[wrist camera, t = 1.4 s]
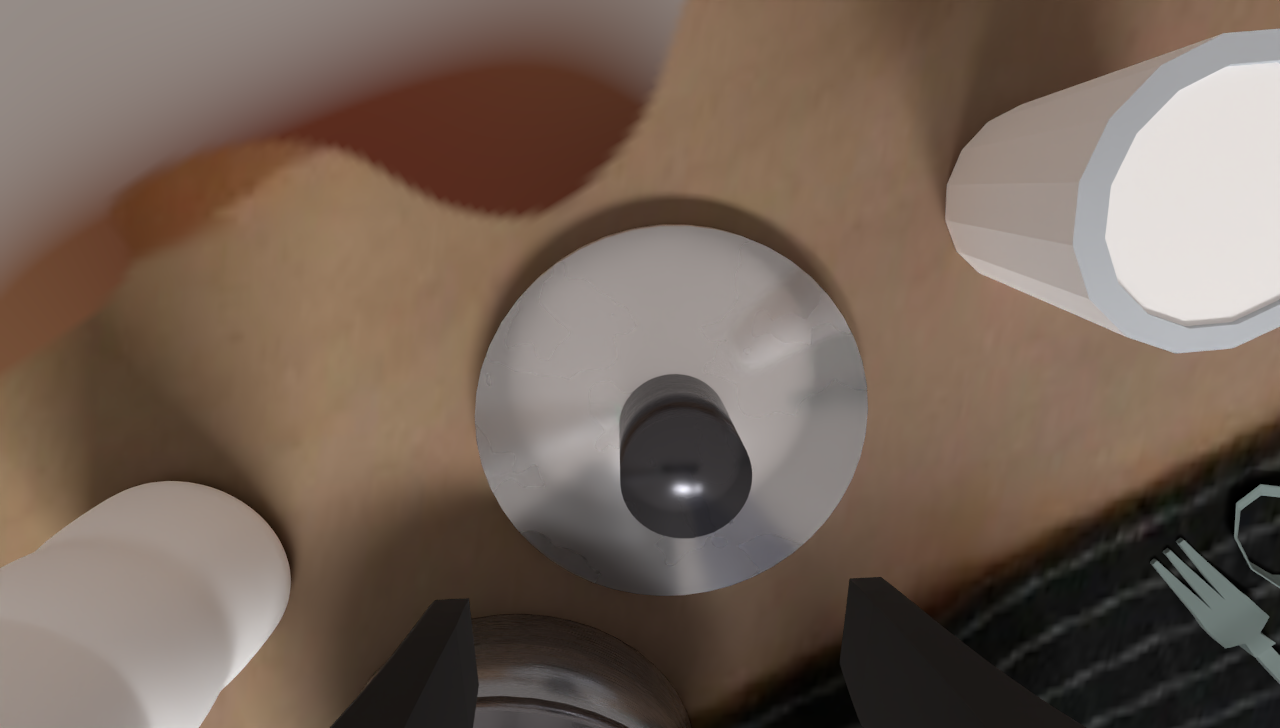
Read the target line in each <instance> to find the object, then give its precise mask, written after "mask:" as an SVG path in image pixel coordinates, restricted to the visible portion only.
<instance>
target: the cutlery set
mask: <svg viewBox="0 0 1280 728" xmlns="http://www.w3.org/2000/svg"><path fill="white" fill-rule="evenodd" d="M1261 495H1263V496H1273V497H1280V487H1279V486H1271V485H1263V484H1260V485H1259V486H1257V487H1256V488H1255V489H1254V490H1252V491H1251V492H1250V493H1248V494H1247V495H1246V496H1245V497H1243V498H1242V499H1241V500H1239V501H1238V502H1237V503H1236V513H1235V531H1234V538H1235V540H1236V542H1237V544H1238V546H1239V548H1240V550H1241V552H1242V554H1243V556H1244V558H1245V560H1246V562H1247V564H1248V566H1249V567H1250V569H1251V570H1253V571H1254V572H1256V573H1257V574H1259V575H1260V576H1262V577H1263V578H1265V579H1266V580H1268V581H1270V582H1271V583H1273V584H1274V585H1276V586H1277V587H1279V588H1280V575H1272V574H1270V573H1268V572H1266V571H1265V570H1263V569H1261V568H1260V567H1258V566H1256V565H1255V564H1253V563H1251V562H1250V561H1249V559H1248V557H1247V555H1246V553H1245V551H1244V549H1243V547H1242V545H1241V544H1240V542H1239V540H1238V538H1237V536H1238V528H1239V519H1240V510H1242V509H1243V508H1244V507H1246V506H1247V505H1248V504H1250V503H1251V502H1252V501H1254V500H1255V499H1257V498H1258V497H1259V496H1261ZM1176 542H1177V544H1178V545H1179V546H1180V547H1181V549H1182V550H1183V551H1184V552H1185V554H1186V555H1187V556H1188V557H1189V559H1190V560H1191V561H1192V562H1193V564H1194V565H1195V566H1196V567H1197V569H1198V570H1199V571H1200V573H1201V574H1202V575H1203V576H1204V578H1205V579H1206V580H1207V581H1208V583H1209V584H1210V585H1211V586H1212V588H1213V589H1212V588H1211V587H1210V586H1209V585H1208V584H1207V583H1206V582H1205V581H1203V580H1202V579H1201V578H1200V577H1199V576H1198V575H1197V574H1196V573H1194V572H1193V571H1192V570H1191V569H1190V568H1189V567H1188V566H1187V565H1186V564H1185V563H1184V562H1182V561H1181V560H1180V559H1179V558H1178V557H1177V556H1176V555H1175V554H1174V553H1173V552H1172V551H1171V550H1169V549H1168V548H1167V549H1165V550H1164V551H1163V553H1164V554H1165V555H1166V557H1167V558H1168V559H1169V560H1170V562H1171V563H1172V564H1173V565H1174V566H1175V568H1176V569H1177V570H1178V571H1179V573H1180V574H1181V575H1182V576H1183V578H1184V579H1185V580H1186V581H1187V583H1188V584H1189V585H1190V586H1191V588H1192V589H1193V590H1194V591H1195V593H1196V594H1197V595H1198V596H1199V598H1200V599H1201V600H1200V599H1199V598H1198V597H1197V596H1196V595H1195V594H1194V593H1192V592H1191V591H1190V590H1189V589H1188V588H1187V587H1186V586H1185V585H1183V584H1182V583H1181V582H1180V581H1179V580H1178V579H1177V578H1176V577H1175V576H1173V575H1172V574H1171V573H1170V572H1169V571H1168V570H1167V569H1166V568H1165V567H1164V566H1163V565H1161V564H1160V563H1159V562H1158V561H1157V560H1156V559H1153V560H1152V561H1150V563H1151V564H1152V566H1153V567H1154V568H1155V569H1156V571H1157V572H1158V573H1159V574H1160V575H1161V577H1162V578H1163V579H1164V580H1165V582H1166V583H1167V584H1168V585H1169V586H1170V588H1171V589H1172V590H1173V591H1174V593H1175V594H1176V595H1177V596H1178V597H1179V599H1180V600H1181V601H1182V602H1183V604H1184V605H1185V606H1186V607H1187V608H1188V610H1189V611H1190V612H1191V613H1192V615H1193V616H1194V617H1195V619H1196V620H1197V622H1198V623H1199V625H1200V626H1201V627H1202V628H1203V629H1204V630H1205V631H1206V632H1207V633H1208V634H1209V635H1210V636H1211V637H1212V638H1213V639H1214V640H1216V641H1217V642H1218V643H1219V644H1221V645H1222V646H1223V647H1224V648H1230V647H1234V646H1238V645H1239V646H1240V647H1242V648H1243V649H1244V650H1246V651H1247V652H1248V653H1250V654H1251V655H1252V656H1254V657H1255V658H1256V659H1257V660H1258V661H1259V662H1260V664H1261V665H1262V666H1263V667H1264V668H1265V669H1266V670H1267V671H1268V672H1269V673H1270V674H1271V676H1272V677H1273V678H1274V679H1275V680H1276V681H1277V682H1278V683H1279V684H1280V655H1279V654H1278V653H1277V652H1276V651H1275V650H1274V649H1273V648H1272V647H1271V646H1273V645H1274V644H1276V643H1275V642H1274V641H1272V640H1271V639H1270V638H1268V637H1267V636H1265V635H1264V634H1263V633H1261V631H1262V629H1263V627H1264V625H1265V624H1266V622H1267V620H1268V618H1269V616H1268V615H1267V614H1266V613H1265V612H1263V611H1262V610H1261V609H1260V608H1259V607H1258V606H1257V605H1256V604H1255V603H1254V602H1253V601H1252V600H1251V599H1250V598H1248V597H1247V596H1246V595H1244V594H1243V593H1242V592H1241V591H1239V590H1238V589H1237V588H1236V587H1235V586H1234V585H1233V584H1231V583H1230V582H1229V581H1228V580H1227V579H1226V578H1225V577H1224V576H1223V575H1221V574H1220V573H1219V572H1218V571H1217V570H1216V569H1215V568H1214V567H1212V566H1211V565H1210V564H1209V563H1208V562H1207V561H1206V560H1205V559H1204V558H1203V557H1201V556H1200V555H1199V554H1198V553H1197V552H1196V551H1195V550H1194V549H1193V548H1192V547H1191V546H1190V545H1189V544H1188V543H1187V542H1186V541H1185V540H1183V539H1182V538H1179V539H1178V540H1177V541H1176Z"/></svg>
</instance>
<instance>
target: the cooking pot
mask: <svg viewBox="0 0 1280 728" xmlns="http://www.w3.org/2000/svg"><path fill="white" fill-rule="evenodd" d="M471 622H472V630H473V639H474V647H475V656H476V664H477V673H478V682H479V688H478V695H477V703H476V710H475V718H474V724H473V728H692V727H691V724H690V721H689V718H688V715H687V712H686V710H685V708H684V706H683V704H682V702H681V700H680V698H679V696H678V694H677V693H676V691H675V690H674V688H673V687H672V686H671V684H670V683H669V681H668V680H667V679H666V677H665V676H664V675H663V674H662V673H661V672H660V671H659V670H658V669H657V668H656V667H655V666H654V665H653V664H652V663H651V662H650V661H649V660H647V659H646V658H645V657H644V656H642V655H641V654H640V653H639V652H637V651H636V650H635V649H633V648H632V647H630V646H628V645H627V644H625V643H623V642H622V641H620V640H618V639H617V638H615V637H613V636H611V635H608V634H606V633H604V632H602V631H599V630H597V629H595V628H592V627H589V626H586V625H583V624H580V623H576V622H573V621H569V620H564V619H559V618H554V617H549V616H538V615H525V614H516V615H495V616H488V617H481V618H475V619H471ZM388 660H389V659H388ZM388 660H387V661H388ZM387 661H386V662H387ZM386 662H385V663H386ZM385 663H384V664H385ZM384 664H383V665H382V666H381V667H380V668H379V669H378V670H377V671H376V672H375V673H374V674H373V675H372V677H371V678H370V679H369V681H368V682H367V683H366V685H365V686H364V687H363V688H362V690H361V692H362V691H363V690H364V689H365V688H366V686H367V685H368V684H369V683H370V681H371V680H372V679H373V678H374V677H375V675H376V674H377V673H378V672H379V671H380V669H381V668H382V667H383V666H384ZM361 692H360V693H361ZM359 695H360V694H359Z"/></svg>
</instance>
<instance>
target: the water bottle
mask: <svg viewBox="0 0 1280 728" xmlns="http://www.w3.org/2000/svg"><path fill="white" fill-rule="evenodd" d="M290 588H291V575H290V567H289V563H288V559H287V556H286V553H285V551H284V548H283V546H282V544H281V542H280V540H279V539H278V537H277V535H276V534H275V532H274V531H273V530H272V528H271V527H270V526H269V525H268V523H267V522H266V521H265V520H264V519H263V518H262V517H261V516H260V515H259V514H258V513H257V512H255V511H254V510H253V509H252V508H250V507H249V506H248V505H246V504H245V503H243V502H242V501H240V500H238V499H237V498H235V497H233V496H231V495H229V494H227V493H225V492H223V491H220V490H218V489H215V488H212V487H209V486H205V485H201V484H196V483H191V482H182V481H161V482H152V483H147V484H142V485H139V486H135V487H132V488H129V489H127V490H124V491H122V492H120V493H118V494H116V495H114V496H112V497H110V498H108V499H107V500H105V501H103V502H102V503H100V504H98V505H97V506H95V507H94V508H92V509H91V510H89V511H88V512H86V513H84V514H83V515H81V516H80V517H78V518H77V519H76V520H74V521H73V522H71V523H70V524H68V525H67V526H66V527H64V528H63V529H62V530H60V531H59V532H58V533H56V534H55V535H54V536H52V537H51V538H50V539H49V540H48V541H46V542H45V543H44V544H43V545H42V546H41V547H40V548H38V549H37V550H36V551H35V552H33V553H31V554H29V555H27V556H24V557H22V558H20V559H18V560H16V561H13V562H11V563H9V564H7V565H5V566H3V567H2V568H0V728H199V726H200V725H201V723H202V722H203V720H204V719H205V717H206V716H207V714H208V713H209V711H210V709H211V708H212V706H213V704H214V702H215V701H216V699H217V697H218V695H219V693H220V691H221V690H222V689H223V688H224V687H225V686H227V685H228V684H229V683H230V682H231V681H232V680H233V679H234V678H235V677H236V676H237V675H238V674H239V672H240V671H241V670H242V669H243V668H244V667H245V666H246V665H247V664H248V662H249V661H250V660H251V659H252V658H253V656H254V655H255V654H256V653H257V652H258V650H259V649H260V648H261V647H262V645H263V644H264V643H265V642H266V640H267V639H268V638H269V636H270V635H271V634H272V632H273V631H274V629H275V628H276V626H277V625H278V623H279V622H280V620H281V618H282V616H283V614H284V612H285V609H286V607H287V604H288V600H289V595H290Z"/></svg>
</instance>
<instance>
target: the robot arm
mask: <svg viewBox="0 0 1280 728" xmlns="http://www.w3.org/2000/svg"><path fill="white" fill-rule="evenodd" d="M840 666H841V669H842V672H843V675H844V679H845V682H846V685H847V688H848V691H849V694H850V697H851V699H852V702H853V705H854V708H855V711H856V714H857V716H858V719H859V721H860V723H861V725H862V727H863V728H1086V727H1084V726H1083V725H1081V724H1080V723H1078V722H1076V721H1075V720H1073V719H1071V718H1070V717H1068V716H1067V715H1065V714H1063V713H1062V712H1060V711H1059V710H1057V709H1055V708H1054V707H1052V706H1051V705H1049V704H1048V703H1046V702H1045V701H1043V700H1042V699H1040V698H1039V697H1037V696H1036V695H1034V694H1033V693H1031V692H1030V691H1029V690H1027V689H1026V688H1024V687H1023V686H1021V685H1020V684H1019V683H1017V682H1016V681H1014V680H1013V679H1012V678H1010V677H1009V676H1007V675H1006V674H1004V673H1003V672H1002V671H1000V670H999V669H997V668H996V667H995V666H993V665H992V664H991V663H989V662H988V661H987V660H985V659H984V658H983V657H981V656H980V655H979V654H977V653H976V652H975V651H973V650H972V649H971V648H969V647H968V646H967V645H966V644H964V643H963V642H962V641H960V640H959V639H958V638H957V637H955V636H954V635H953V634H952V633H950V632H949V631H948V630H946V629H945V628H944V627H943V626H941V625H940V624H939V623H938V622H936V621H935V620H934V619H933V618H932V617H930V616H929V615H928V614H927V613H925V612H924V611H923V610H922V609H920V608H919V607H918V606H917V605H915V604H914V603H913V602H912V601H911V600H909V599H908V598H907V597H906V596H904V595H903V594H902V593H901V592H899V591H898V590H897V589H896V588H894V587H893V586H892V585H891V584H889V583H888V582H887V581H885V580H884V579H883V578H881V577H873V578H853V579H850V581H849V589H848V597H847V606H846V614H845V622H844V630H843V639H842V647H841V655H840ZM478 688H479V682H478V673H477V664H476V656H475V647H474V639H473V630H472V622H471V613H470V605H469V598H467V599H447V600H435V601H434V602H433V603H432V604H431V605H430V606H429V607H428V609H427V610H426V611H425V613H424V614H423V615H422V617H421V618H420V619H419V621H418V622H417V623H416V625H415V626H414V627H413V629H412V630H411V631H410V633H409V634H408V635H407V637H406V638H405V639H404V641H403V642H402V643H401V644H400V646H399V647H398V648H397V649H396V651H395V652H394V653H393V655H392V656H391V657H390V658H389V660H388V661H387V662H386V663H385V664H384V666H383V667H382V668H381V669H380V671H379V672H378V673H377V674H376V675H375V677H374V678H373V679H372V680H371V681H370V683H369V684H368V685H367V686H366V688H365V689H364V690H363V691H362V692H361V693H360V695H359V696H358V697H357V698H356V699H355V700H354V701H353V703H352V704H351V705H350V706H349V707H348V708H347V709H346V710H345V711H344V712H343V714H342V715H341V716H340V717H339V718H338V719H337V720H336V721H335V722H334V724H333V725H332V726H331V727H330V728H473V724H474V718H475V710H476V703H477V695H478Z"/></svg>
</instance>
